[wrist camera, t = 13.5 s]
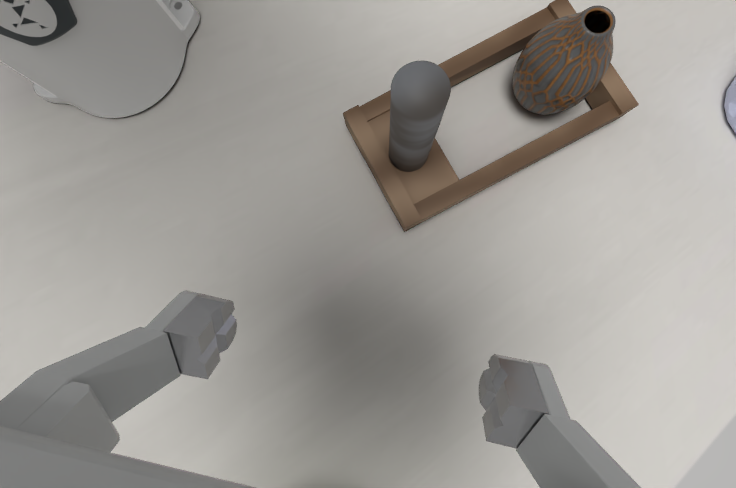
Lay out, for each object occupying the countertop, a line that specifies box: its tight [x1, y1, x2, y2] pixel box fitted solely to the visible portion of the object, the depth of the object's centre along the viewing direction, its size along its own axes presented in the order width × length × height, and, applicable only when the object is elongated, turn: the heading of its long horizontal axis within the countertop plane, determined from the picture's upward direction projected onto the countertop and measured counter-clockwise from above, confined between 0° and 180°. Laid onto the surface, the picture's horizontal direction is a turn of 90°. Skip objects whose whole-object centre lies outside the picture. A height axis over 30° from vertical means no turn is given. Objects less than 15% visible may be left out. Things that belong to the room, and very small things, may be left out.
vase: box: [513, 6, 615, 115], centre depth 27 cm, size 7×7×9 cm
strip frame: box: [343, 0, 639, 232], centre depth 25 cm, size 12×23×12 cm, turn 118°
